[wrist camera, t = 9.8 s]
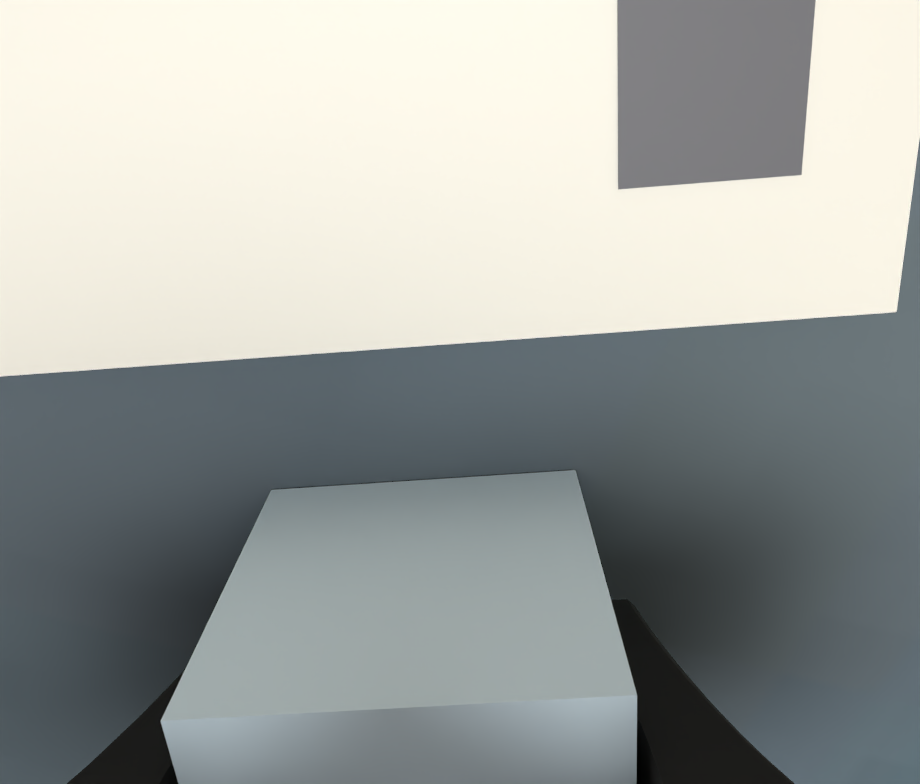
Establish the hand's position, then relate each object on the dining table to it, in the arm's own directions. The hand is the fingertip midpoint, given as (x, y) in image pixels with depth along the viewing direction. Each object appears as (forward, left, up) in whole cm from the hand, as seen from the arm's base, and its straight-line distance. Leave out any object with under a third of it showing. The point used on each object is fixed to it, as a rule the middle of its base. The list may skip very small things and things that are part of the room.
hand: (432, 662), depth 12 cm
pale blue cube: (0, 0, -1) cm, 1 cm away
